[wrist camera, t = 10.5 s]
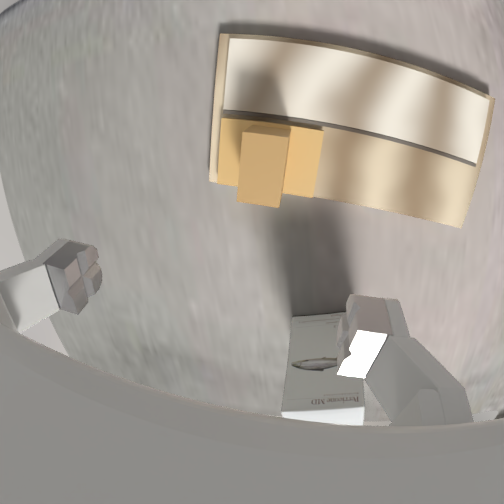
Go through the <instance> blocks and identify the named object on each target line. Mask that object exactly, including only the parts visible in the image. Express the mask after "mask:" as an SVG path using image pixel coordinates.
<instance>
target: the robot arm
mask: <svg viewBox="0 0 504 504" xmlns="http://www.w3.org/2000/svg"><path fill="white" fill-rule="evenodd" d="M98 258H99V256H98V252H97V248H95V247H94V246H93V245H88V244H84V243H80V242H76V241H71V240H67V239H58V240H57V241H55V242H54V243H53V244H52V245H51V246H49V247H48V248H47V249H46V250H45V251H43V252H42V253H41V254H40V255H39V256H37V257H36V258H35V259H34V260H33V261H32V260H28V261H26V262H23V263H20V264H18V265H15V266H12V267H9V268H7V269H4V270H1V271H0V504H504V418H501V419H495V420H488V421H480V422H474V421H473V418H472V413H471V409H470V405H469V402H468V398H467V395H466V391H465V388H464V387H463V386H462V385H461V384H460V383H459V382H458V381H457V380H456V379H455V378H454V377H453V376H452V375H451V374H450V373H449V372H448V371H447V370H446V369H445V368H444V367H443V366H442V365H441V364H440V363H439V362H438V361H437V360H436V359H435V358H434V357H433V356H432V355H431V354H430V353H429V352H428V351H427V350H426V349H425V348H424V347H423V346H422V345H421V344H420V343H419V342H418V341H417V340H416V339H415V338H410V334H409V331H408V327H407V324H406V321H405V317H404V314H403V311H402V308H401V305H400V302H399V301H398V300H396V299H388V298H376V297H369V296H363V295H356V294H350V296H349V297H348V300H347V302H346V313H345V314H343V315H342V316H341V319H340V322H339V325H338V330H337V338H336V342H337V347H338V348H339V349H340V351H339V353H338V356H337V373H338V374H339V375H346V376H354V377H362V378H364V380H365V381H366V383H367V384H368V386H369V387H370V389H371V390H372V392H373V393H374V395H375V397H376V398H377V400H378V401H379V403H380V404H381V406H382V408H383V409H384V411H385V412H386V414H387V415H388V417H389V419H390V420H391V422H392V423H391V424H390V425H389V426H365V425H347V424H334V423H323V422H313V421H305V420H297V419H289V418H282V417H276V416H269V415H263V414H257V413H252V412H247V411H241V410H236V409H231V408H227V407H222V406H218V405H213V404H209V403H205V402H201V401H197V400H193V399H189V398H185V397H181V396H178V395H174V394H171V393H167V392H164V391H161V390H157V389H154V388H151V387H148V386H145V385H141V384H138V383H135V382H133V381H130V380H127V379H124V378H121V377H118V376H115V375H113V374H110V373H107V372H105V371H102V370H100V369H97V368H94V367H92V366H89V365H87V364H85V363H82V362H80V361H77V360H75V359H73V358H70V357H68V356H66V355H64V354H61V353H59V352H57V351H55V350H53V349H51V348H48V347H46V346H44V345H42V344H40V343H38V342H36V341H34V340H32V339H30V338H28V337H26V336H24V335H22V334H20V333H22V332H23V331H25V330H27V329H28V328H30V327H32V326H33V325H35V324H37V323H38V322H40V321H42V320H43V319H45V318H47V317H49V316H50V315H52V314H54V313H55V312H57V311H59V310H60V309H62V310H65V311H68V312H71V313H74V314H77V315H78V314H79V313H80V312H81V311H82V309H83V308H84V307H85V306H86V304H87V303H88V297H90V296H92V295H95V294H96V292H97V291H98V290H99V288H100V285H101V283H102V271H101V268H100V266H99V265H98V263H97V260H98Z"/></svg>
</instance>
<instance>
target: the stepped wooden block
mask: <svg viewBox="0 0 504 504" xmlns="http://www.w3.org/2000/svg"><path fill="white" fill-rule="evenodd" d="M323 135H324V130H319V129H313V128H307V127H301V126H294V125H288V124H280V123H273V122H265V121H256V120H247V119H237V118H225V117H223V118H221V130H220V144H219V160H218V177H217V184H223V185H231V186H238V192H237V202H243V203H250V204H257V205H263V206H270V207H276V208H279V206H280V201H281V197H282V193H286V194H292V195H298V196H304V197H310V198H313V194H314V188H315V183H316V177H317V171H318V165H319V159H320V153H321V147H322V141H323Z"/></svg>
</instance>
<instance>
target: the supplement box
mask: <svg viewBox="0 0 504 504" xmlns="http://www.w3.org/2000/svg"><path fill="white" fill-rule="evenodd" d="M345 313H346V312H341V313H333V314H324V315H312V316H297V317H292V323H291V333H290V343H289V353H288V362H287V370H286V377H285V385H284V393H283V400H282V407H281V413H282V416H283V418H289V419H297V420H305V421H313V422H323V423H334V424H347V425H364V414H365V399H364V384H363V378H362V377H354V376H346V375H339V374H338V373H337V356H338V353H339V351H340V349H339V348H338V347H337V342H336V338H337V330H338V325H339V322H340V319H341V316H342V315H343V314H345Z"/></svg>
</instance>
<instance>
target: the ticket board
mask: <svg viewBox="0 0 504 504" xmlns="http://www.w3.org/2000/svg"><path fill="white" fill-rule="evenodd" d="M494 102H495V98H493V97H491V96H489V95H487V94H485V93H483V92H481V91H478V90H476V89H474V88H472V87H470V86H467V85H465V84H463V83H460V82H458V81H456V80H453V79H451V78H448V77H446V76H443V75H441V74H438V73H435V72H432V71H430V70H427V69H424V68H421V67H418V66H415V65H412V64H409V63H406V62H403V61H399V60H396V59H393V58H389V57H385V56H382V55H378V54H374V53H370V52H366V51H362V50H357V49H353V48H348V47H343V46H338V45H333V44H328V43H322V42H316V41H309V40H302V39H294V38H286V37H276V36H264V35H249V34H220V37H219V47H218V58H217V69H216V80H215V92H214V106H213V120H212V135H211V152H210V171H209V182H217V177H218V160H219V144H220V130H221V118H223V117H225V118H237V119H247V120H256V121H265V122H273V123H280V124H288V125H294V126H301V127H307V128H313V129H319V130H324V135H323V141H322V147H321V153H320V159H319V165H318V171H317V177H316V183H315V188H314V194H313V197H318V198H324V199H329V200H335V201H340V202H345V203H351V204H356V205H361V206H366V207H371V208H376V209H381V210H385V211H390V212H395V213H399V214H404V215H408V216H413V217H417V218H421V219H425V220H430V221H434V222H438V223H442V224H446V225H450V226H454V227H458V228H462V225H463V222H464V220H465V217H466V214H467V211H468V208H469V205H470V202H471V199H472V196H473V193H474V189H475V186H476V183H477V179H478V176H479V172H480V168H481V165H482V161H483V157H484V153H485V148H486V144H487V140H488V135H489V130H490V125H491V120H492V114H493V109H494Z"/></svg>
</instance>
